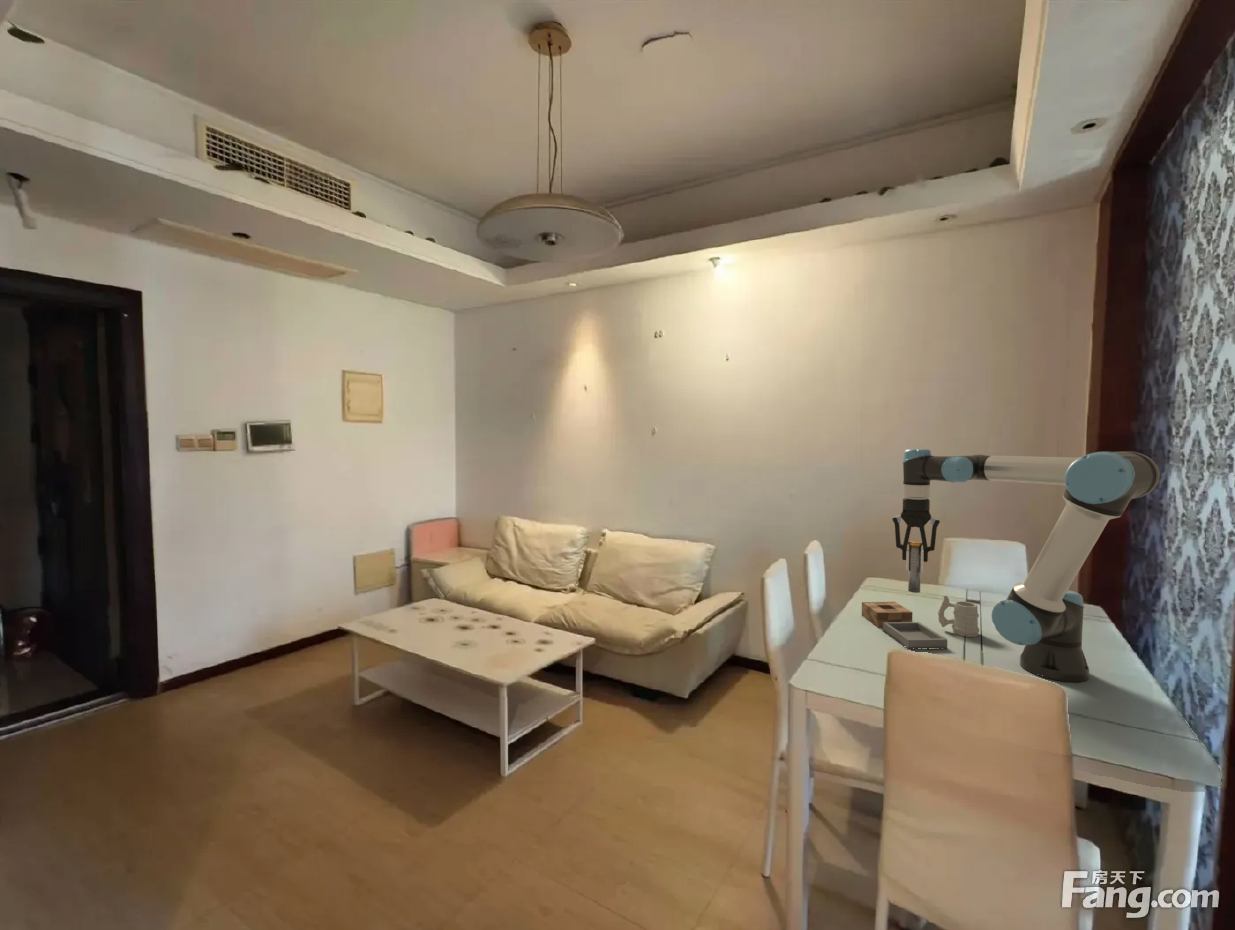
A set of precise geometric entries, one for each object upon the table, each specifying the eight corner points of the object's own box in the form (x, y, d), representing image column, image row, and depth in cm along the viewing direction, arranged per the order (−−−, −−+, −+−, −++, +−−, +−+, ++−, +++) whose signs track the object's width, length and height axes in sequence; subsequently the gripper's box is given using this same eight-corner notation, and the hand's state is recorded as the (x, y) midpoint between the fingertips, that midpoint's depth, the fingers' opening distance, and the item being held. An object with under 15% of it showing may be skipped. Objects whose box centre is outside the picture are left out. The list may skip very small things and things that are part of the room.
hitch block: (912, 626, 190) (912, 612, 190) (877, 627, 190) (877, 612, 190) (894, 615, 202) (894, 601, 202) (861, 615, 202) (861, 602, 202)
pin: (921, 590, 178) (922, 541, 177) (921, 593, 175) (922, 544, 174) (907, 588, 180) (908, 540, 179) (906, 591, 177) (907, 543, 176)
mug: (980, 639, 178) (981, 602, 177) (937, 633, 184) (938, 597, 183) (977, 631, 185) (978, 596, 184) (936, 626, 190) (937, 591, 190)
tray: (947, 649, 170) (947, 639, 170) (908, 649, 170) (908, 640, 170) (918, 630, 186) (918, 621, 186) (882, 631, 186) (883, 622, 186)
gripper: (946, 497, 175) (944, 571, 176) (888, 495, 183) (886, 565, 184) (946, 500, 168) (944, 576, 170) (886, 497, 176) (885, 570, 178)
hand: (914, 570), depth 177 cm, fingers closed on pin, 3 cm apart
